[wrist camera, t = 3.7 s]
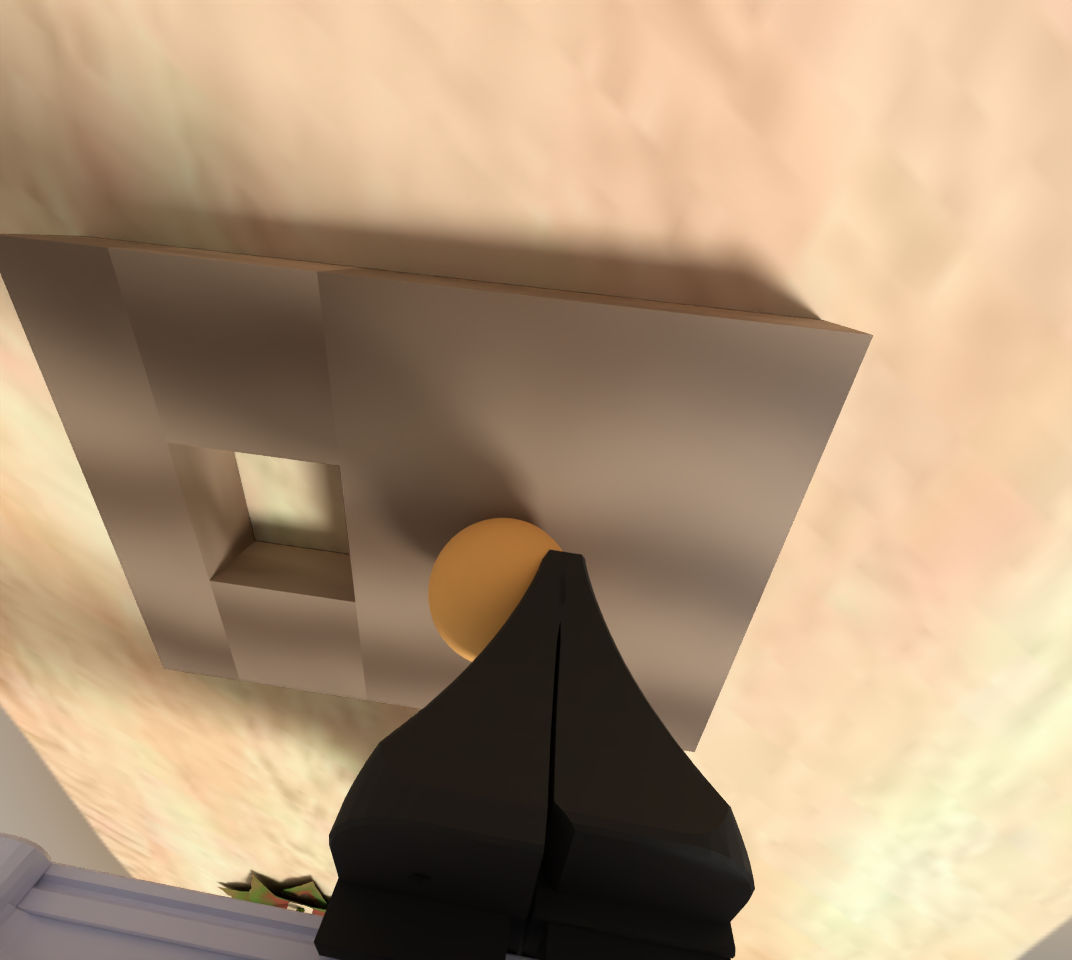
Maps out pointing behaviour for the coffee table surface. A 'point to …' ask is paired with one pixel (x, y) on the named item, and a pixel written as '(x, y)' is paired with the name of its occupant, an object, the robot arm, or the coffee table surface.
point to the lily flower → (267, 898)
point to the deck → (425, 453)
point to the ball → (483, 580)
